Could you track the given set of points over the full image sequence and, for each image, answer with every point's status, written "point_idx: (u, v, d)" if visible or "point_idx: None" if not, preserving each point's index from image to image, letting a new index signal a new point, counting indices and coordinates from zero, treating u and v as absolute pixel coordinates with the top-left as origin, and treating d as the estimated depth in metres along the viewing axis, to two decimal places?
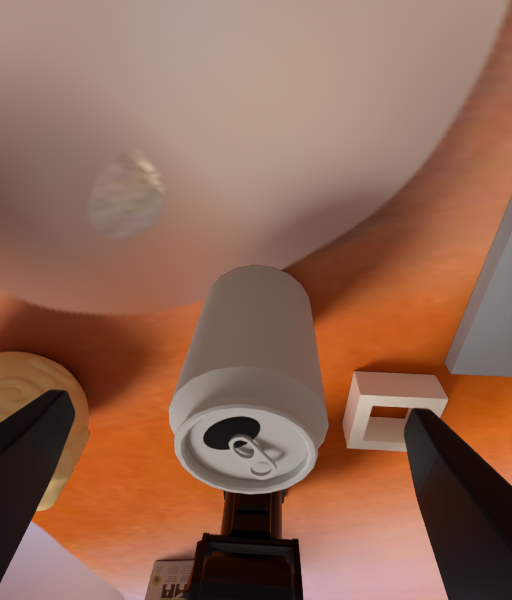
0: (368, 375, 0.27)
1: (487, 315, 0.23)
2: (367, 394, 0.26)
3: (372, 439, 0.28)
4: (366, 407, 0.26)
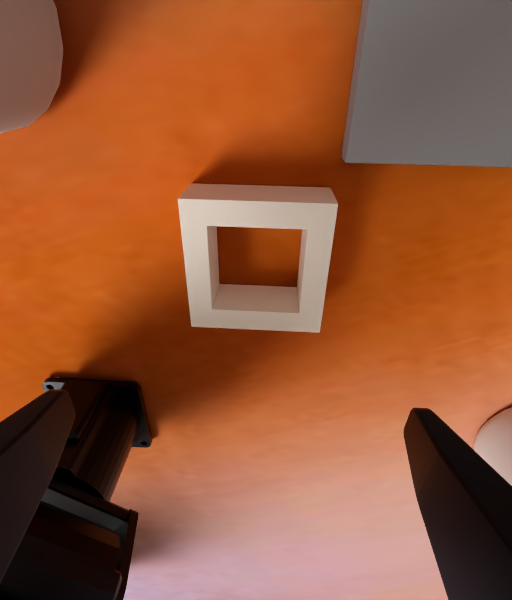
0: (212, 186, 0.16)
1: None
2: (192, 200, 0.14)
3: (229, 308, 0.17)
4: (196, 230, 0.15)
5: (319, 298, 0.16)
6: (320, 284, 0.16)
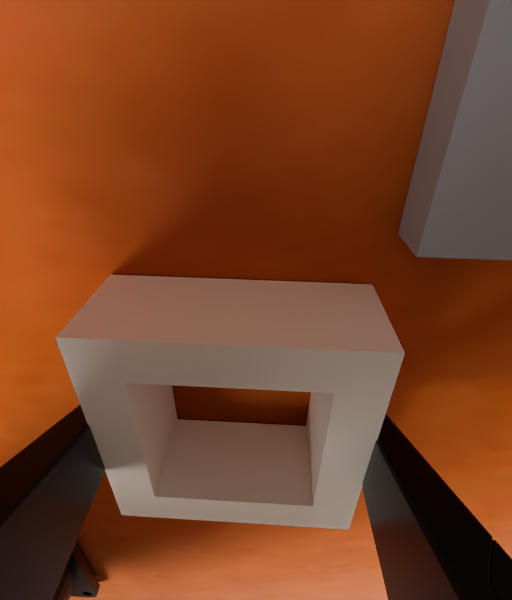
0: (146, 284, 0.08)
1: None
2: (89, 337, 0.07)
3: (187, 493, 0.09)
4: (106, 389, 0.07)
5: (352, 490, 0.09)
6: (355, 471, 0.08)
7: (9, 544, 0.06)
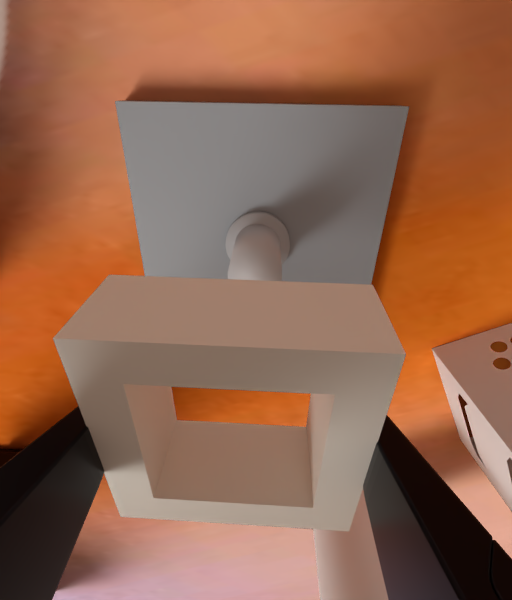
0: (145, 284, 0.08)
1: (155, 258, 0.19)
2: (88, 338, 0.06)
3: (186, 494, 0.09)
4: (104, 390, 0.07)
5: (352, 491, 0.08)
6: (355, 473, 0.08)
7: (9, 544, 0.06)
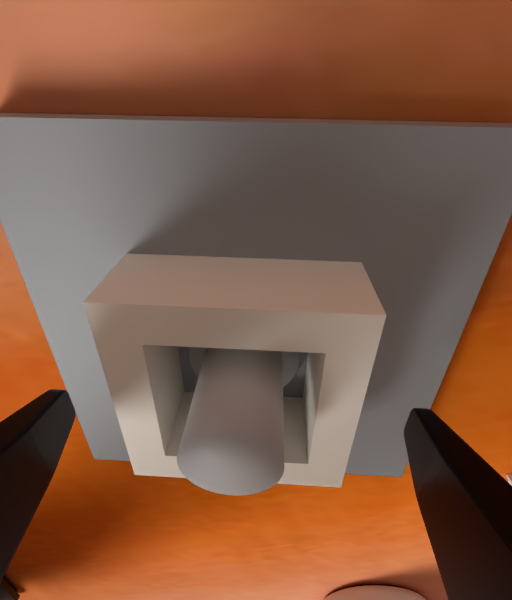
0: (159, 261, 0.09)
1: (78, 367, 0.12)
2: (112, 302, 0.08)
3: None
4: (125, 351, 0.08)
5: (343, 447, 0.09)
6: (345, 429, 0.09)
7: None
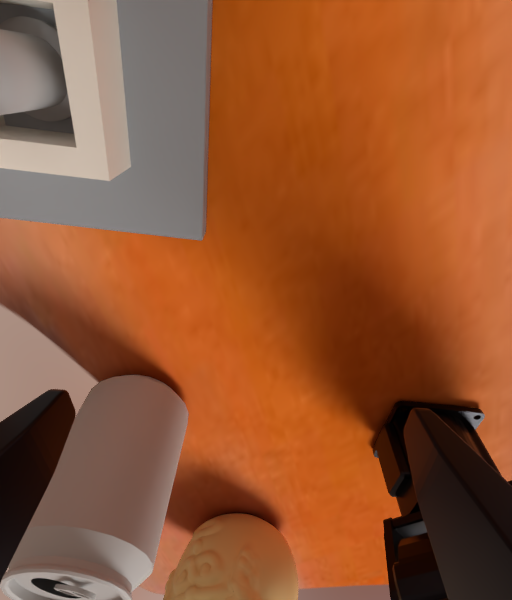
0: None
1: (94, 214, 0.17)
2: None
3: (74, 122, 0.13)
4: None
5: None
6: None
7: None
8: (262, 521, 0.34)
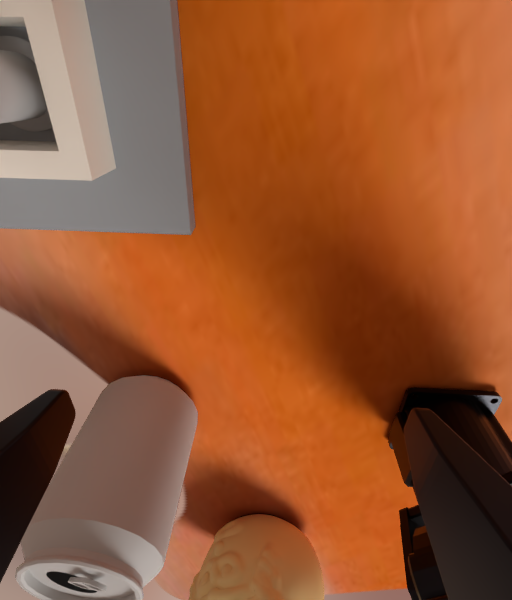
0: None
1: (87, 217, 0.18)
2: None
3: (54, 127, 0.13)
4: None
5: None
6: None
7: None
8: (283, 521, 0.34)
